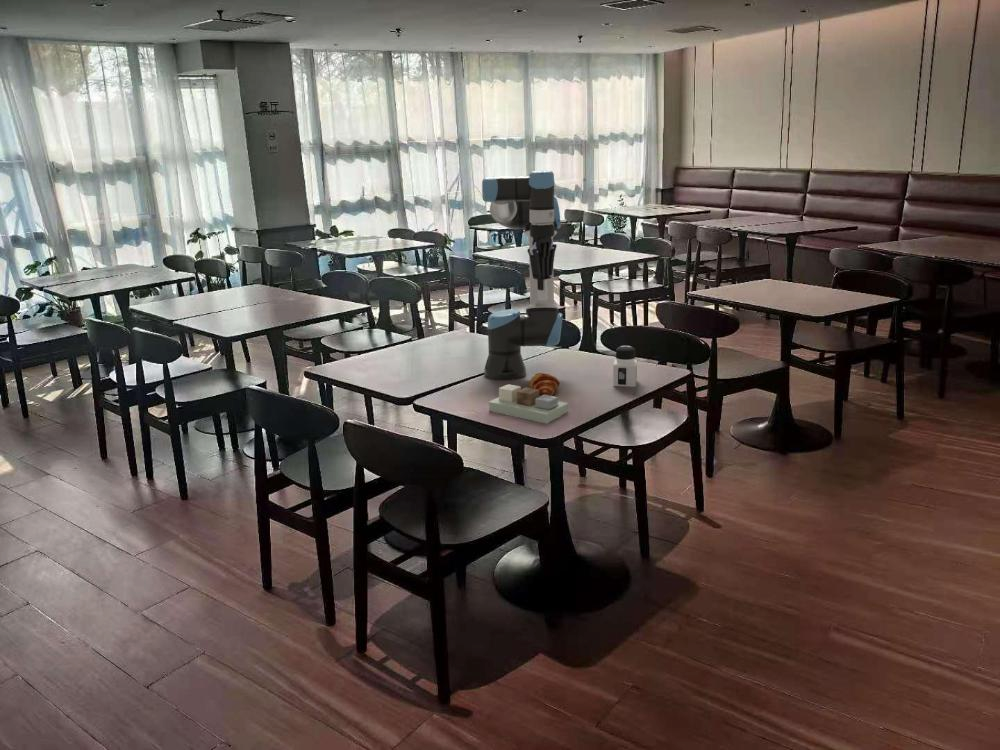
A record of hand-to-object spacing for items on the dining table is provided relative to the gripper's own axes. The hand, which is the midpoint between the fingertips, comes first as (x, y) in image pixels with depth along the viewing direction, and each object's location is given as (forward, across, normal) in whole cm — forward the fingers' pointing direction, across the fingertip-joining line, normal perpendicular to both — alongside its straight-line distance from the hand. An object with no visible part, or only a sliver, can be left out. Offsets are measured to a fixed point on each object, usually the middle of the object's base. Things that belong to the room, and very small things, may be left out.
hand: (542, 299), depth 252 cm
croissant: (+35, +11, +7) cm, 37 cm away
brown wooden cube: (+32, -9, 0) cm, 34 cm away
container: (+35, +33, -12) cm, 49 cm away
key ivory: (+33, -9, +7) cm, 34 cm away
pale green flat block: (+34, -9, 0) cm, 35 cm away
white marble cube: (+34, -9, -7) cm, 35 cm away
